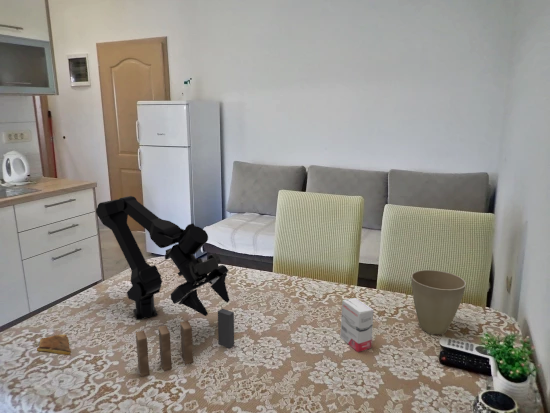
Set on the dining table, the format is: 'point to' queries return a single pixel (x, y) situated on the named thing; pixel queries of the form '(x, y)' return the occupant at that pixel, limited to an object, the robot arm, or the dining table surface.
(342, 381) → the dining table surface
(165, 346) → the domino
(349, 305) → the ink box
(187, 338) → the domino
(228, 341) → the dark gray rectangular block
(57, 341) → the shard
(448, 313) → the plant pot
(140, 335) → the domino
